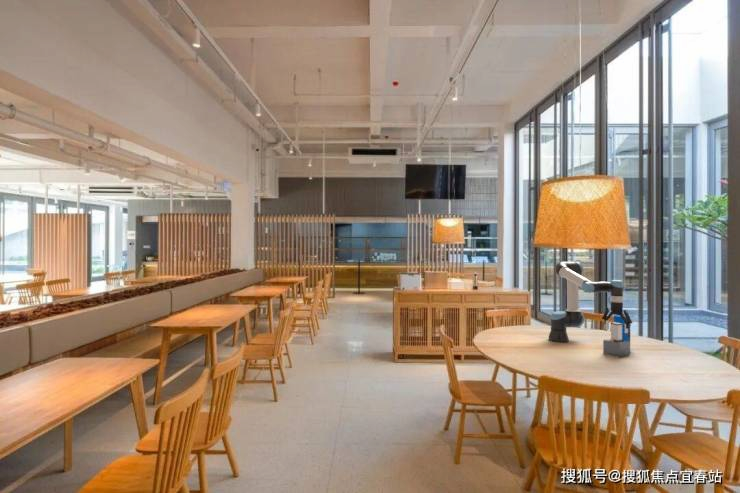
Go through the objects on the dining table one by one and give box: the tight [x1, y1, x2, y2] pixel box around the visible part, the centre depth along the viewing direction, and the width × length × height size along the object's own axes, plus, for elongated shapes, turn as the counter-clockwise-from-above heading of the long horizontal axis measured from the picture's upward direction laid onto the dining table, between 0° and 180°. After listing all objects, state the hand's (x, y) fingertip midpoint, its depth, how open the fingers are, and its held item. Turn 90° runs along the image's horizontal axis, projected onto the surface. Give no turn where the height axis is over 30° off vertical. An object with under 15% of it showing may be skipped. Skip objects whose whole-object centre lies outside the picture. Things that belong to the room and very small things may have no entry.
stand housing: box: [602, 337, 631, 358], centre depth 298 cm, size 12×12×11 cm
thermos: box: [613, 314, 631, 342], centre depth 313 cm, size 11×11×25 cm
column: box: [610, 321, 623, 342], centre depth 298 cm, size 5×6×22 cm
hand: (616, 331), depth 298 cm, fingers open, 13 cm apart
